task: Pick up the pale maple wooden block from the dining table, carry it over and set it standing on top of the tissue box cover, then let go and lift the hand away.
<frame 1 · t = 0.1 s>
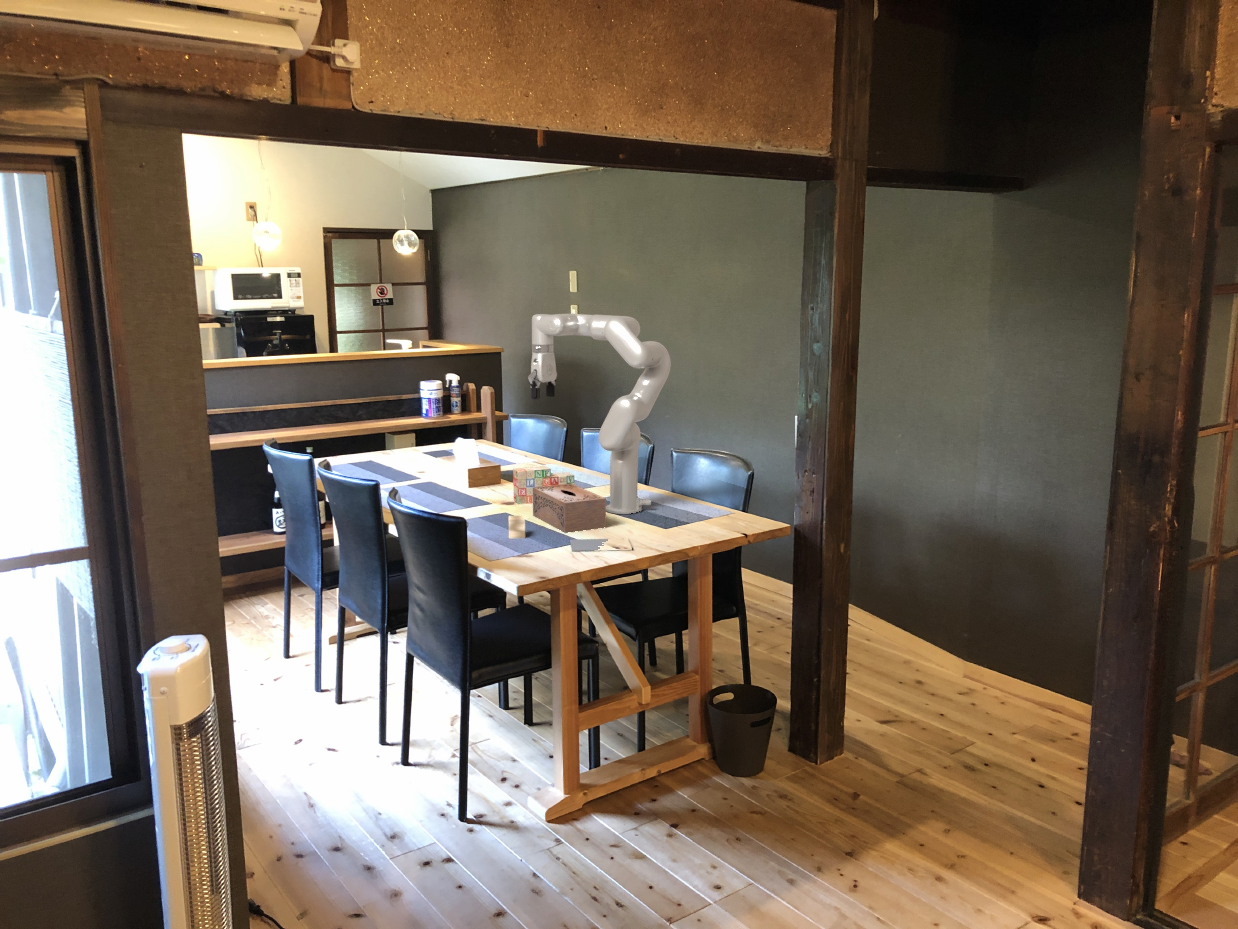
hand: (543, 397, 334), 37 cm above the table, tool pointing down, fingers open, 9 cm apart
maple block: (517, 536, 292), on the table
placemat: (600, 545, 282), on the table
stack of blocks: (544, 501, 341), on the table
tissue box cover: (568, 522, 311), on the table
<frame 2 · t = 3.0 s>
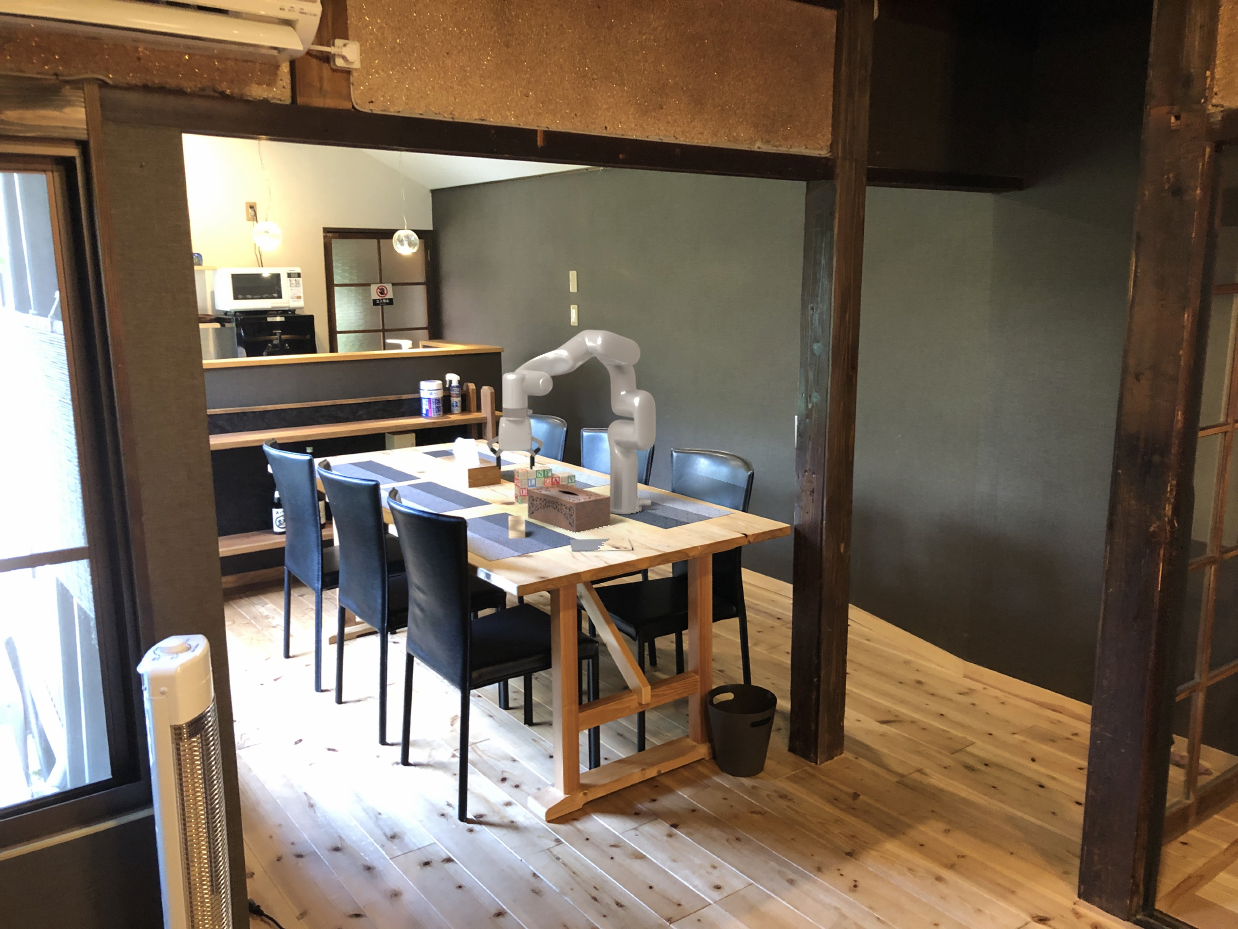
hand: (515, 468, 288), 21 cm above the table, tool pointing down, fingers open, 9 cm apart
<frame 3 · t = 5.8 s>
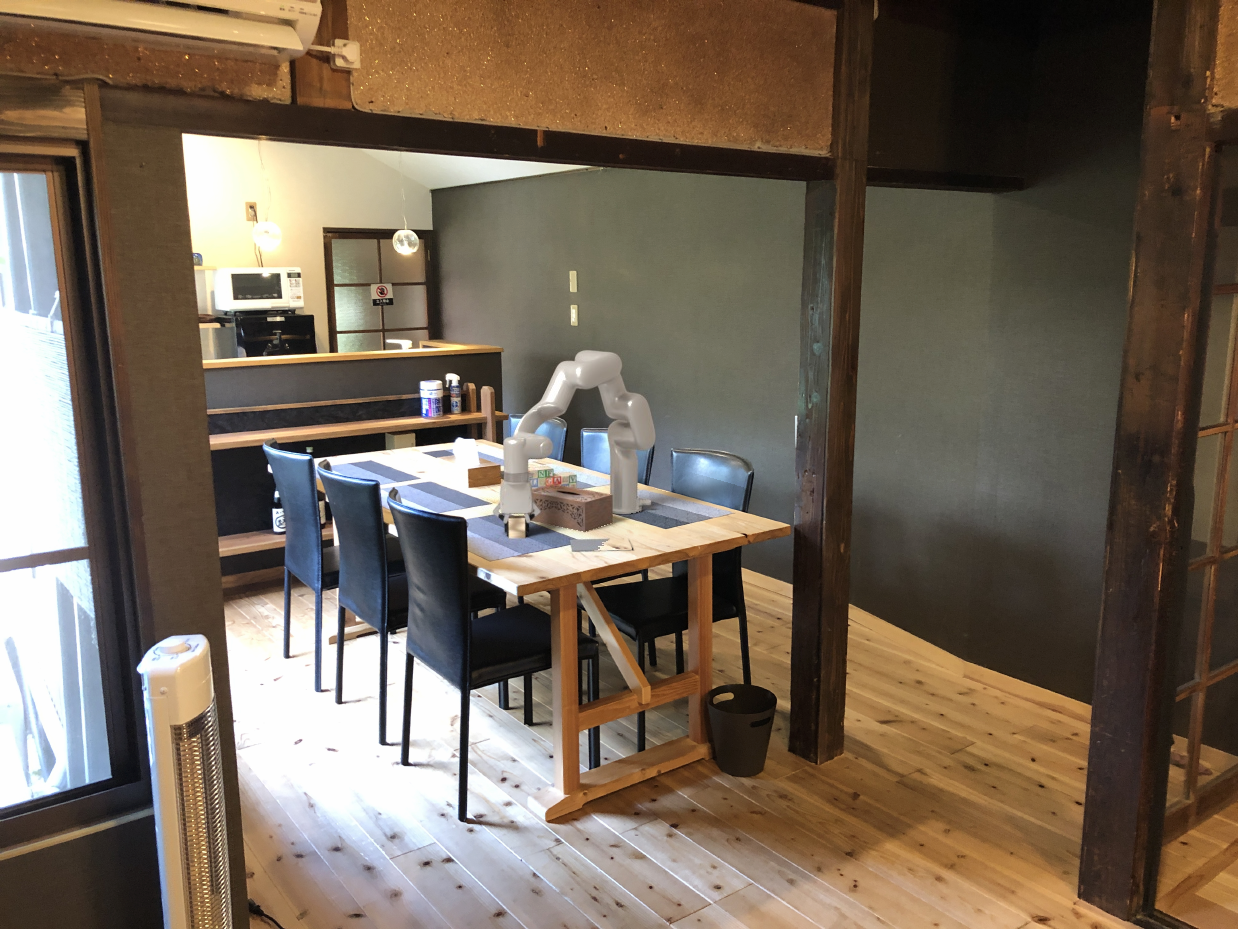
hand: (516, 534, 292), 1 cm above the table, tool pointing down, fingers closed on maple block, 5 cm apart
maple block: (517, 536, 292), on the table, touching gripper
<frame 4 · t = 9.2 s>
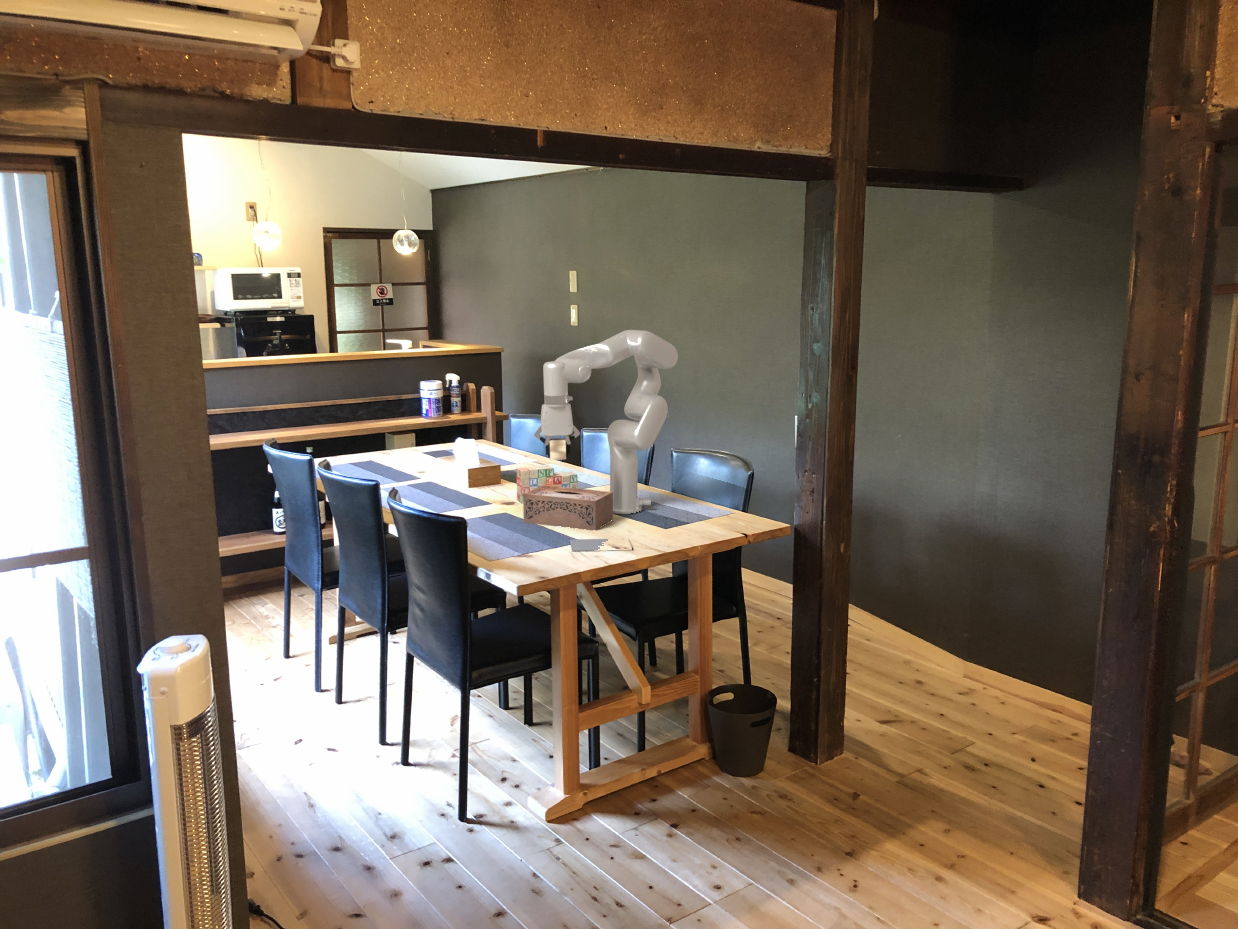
hand: (557, 456, 302), 23 cm above the table, tool pointing down, fingers closed on maple block, 5 cm apart
maple block: (557, 458, 302), point 22 cm above the table, touching gripper
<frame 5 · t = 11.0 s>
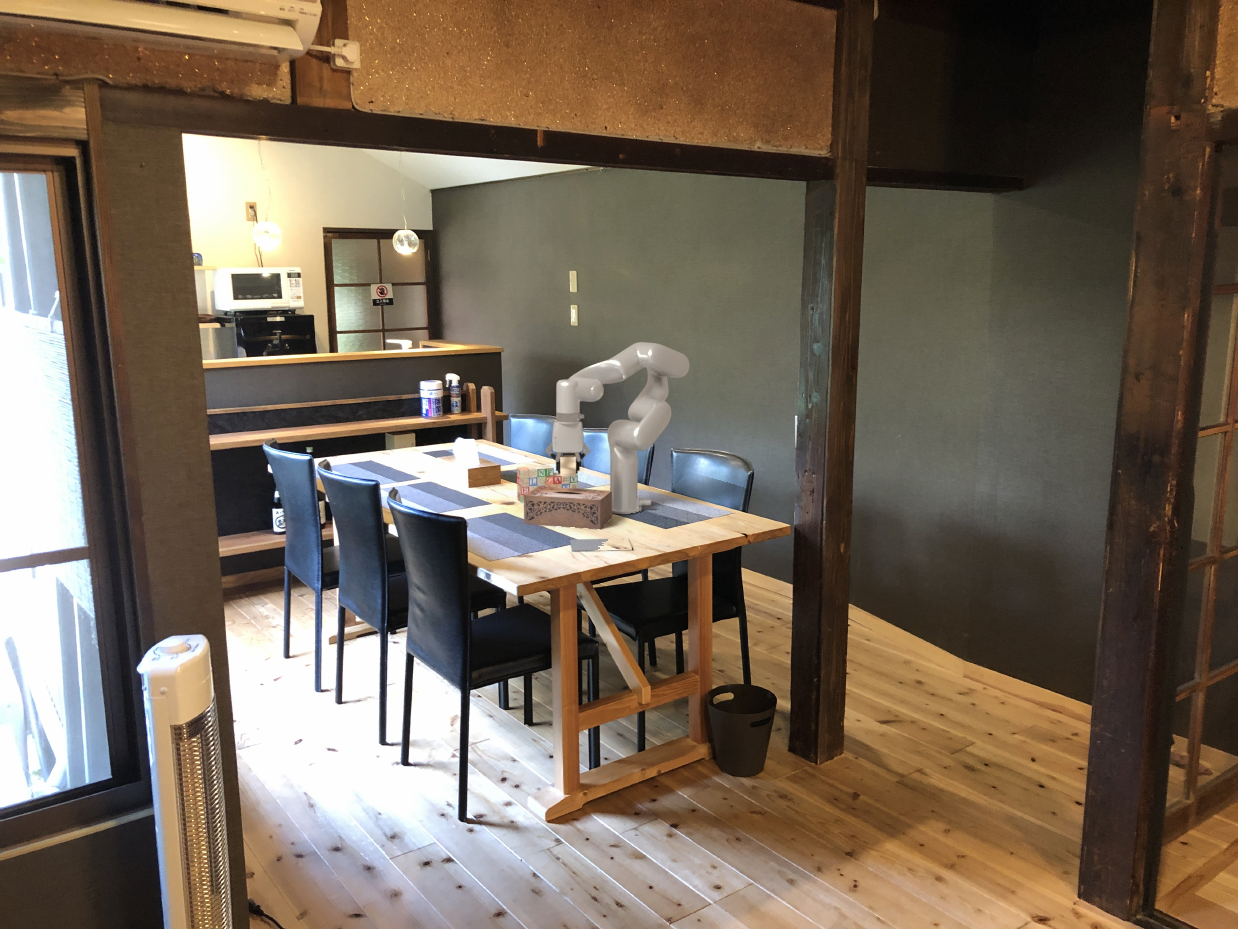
hand: (567, 472, 307), 17 cm above the table, tool pointing down, fingers closed on maple block, 5 cm apart
maple block: (567, 474, 307), point 16 cm above the table, touching gripper
when the fingers open (12 cm above the table, at t = 12.6 s): maple block drops 2 cm, point 10 cm above the table.
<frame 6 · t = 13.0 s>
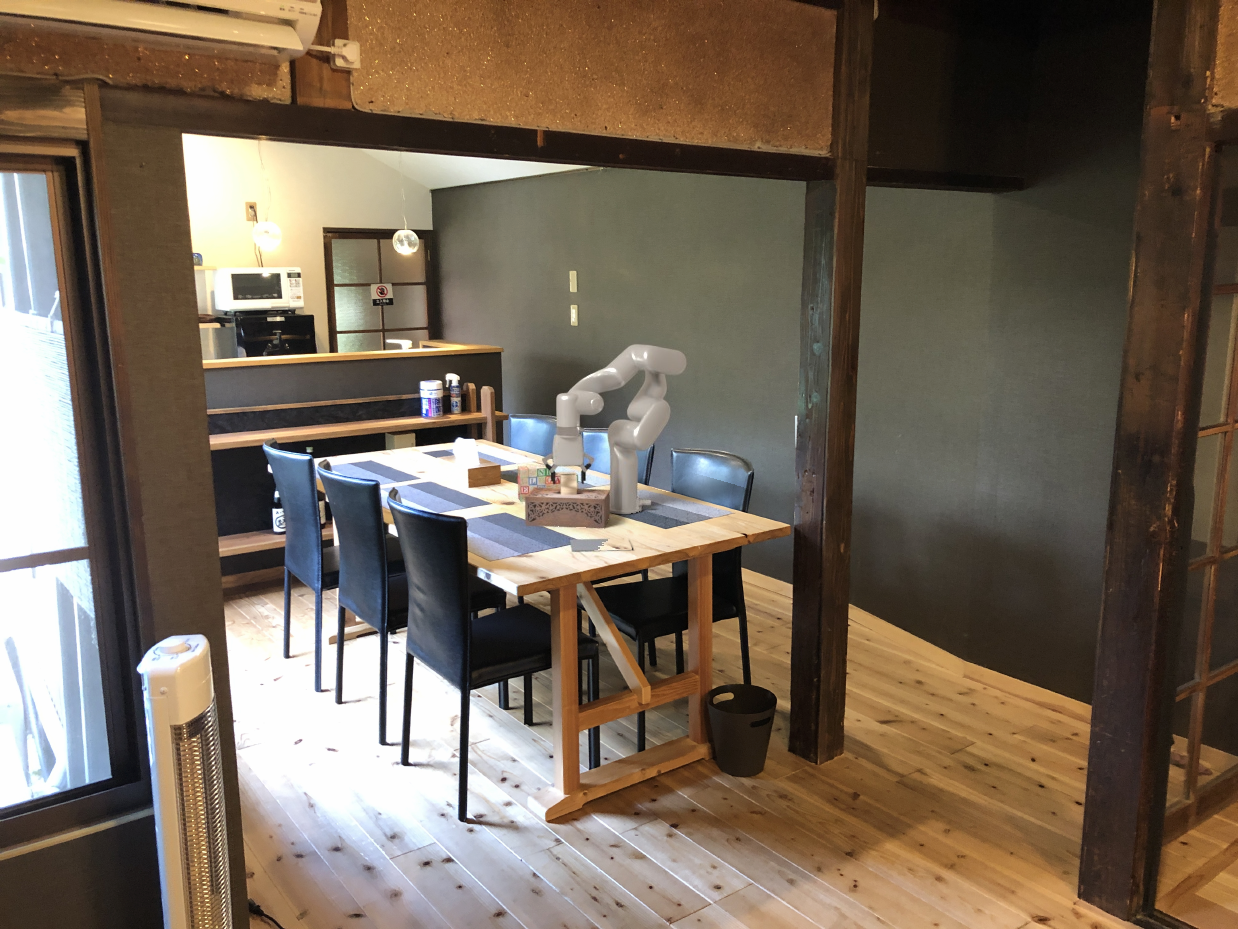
hand: (568, 483, 308), 13 cm above the table, tool pointing down, fingers open, 9 cm apart
maple block: (568, 493, 309), point 10 cm above the table
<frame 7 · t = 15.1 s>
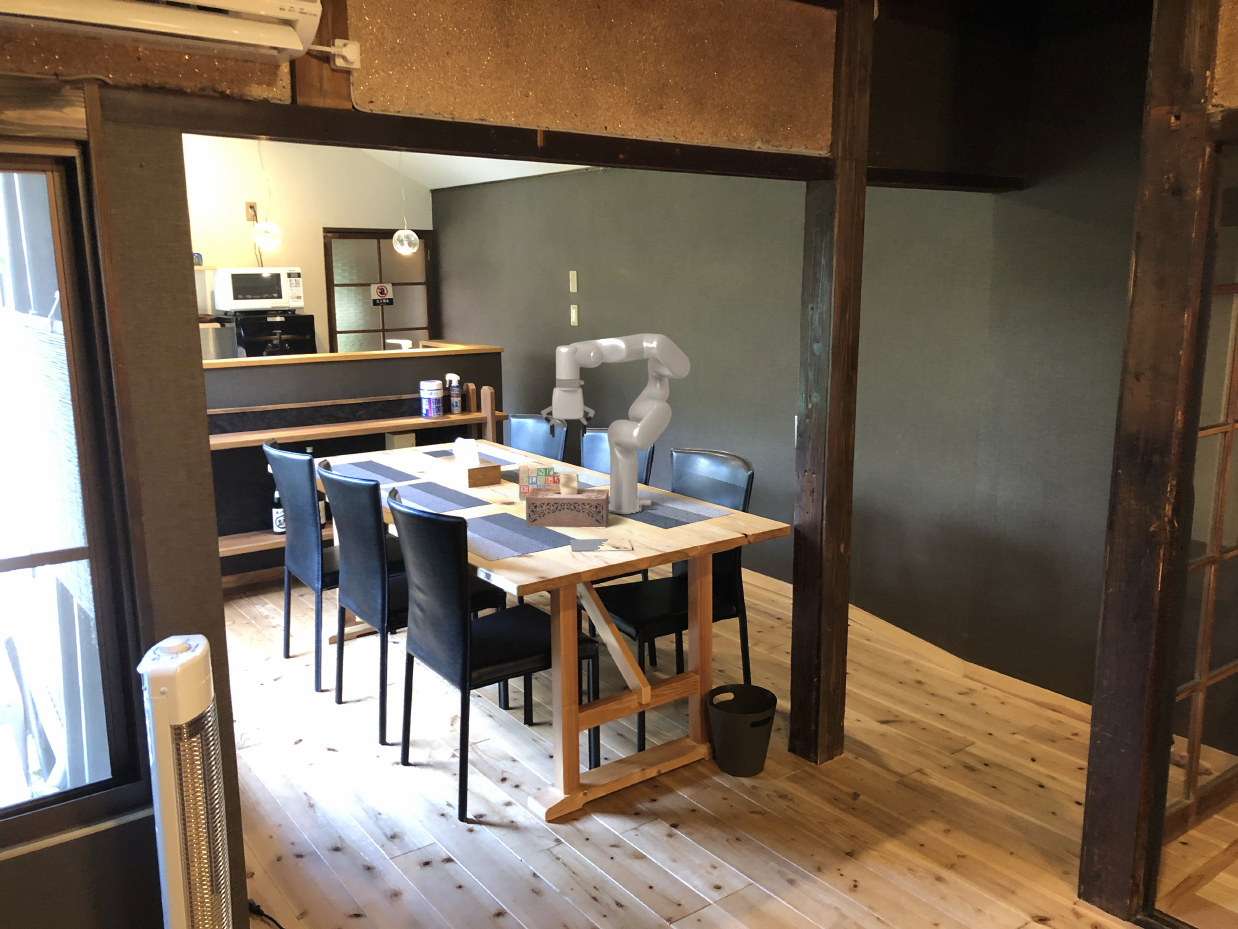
hand: (568, 436, 305), 28 cm above the table, tool pointing down, fingers open, 9 cm apart
maple block: (568, 493, 309), point 10 cm above the table, touching tissue box cover
tissue box cover: (568, 523, 311), on the table, touching maple block
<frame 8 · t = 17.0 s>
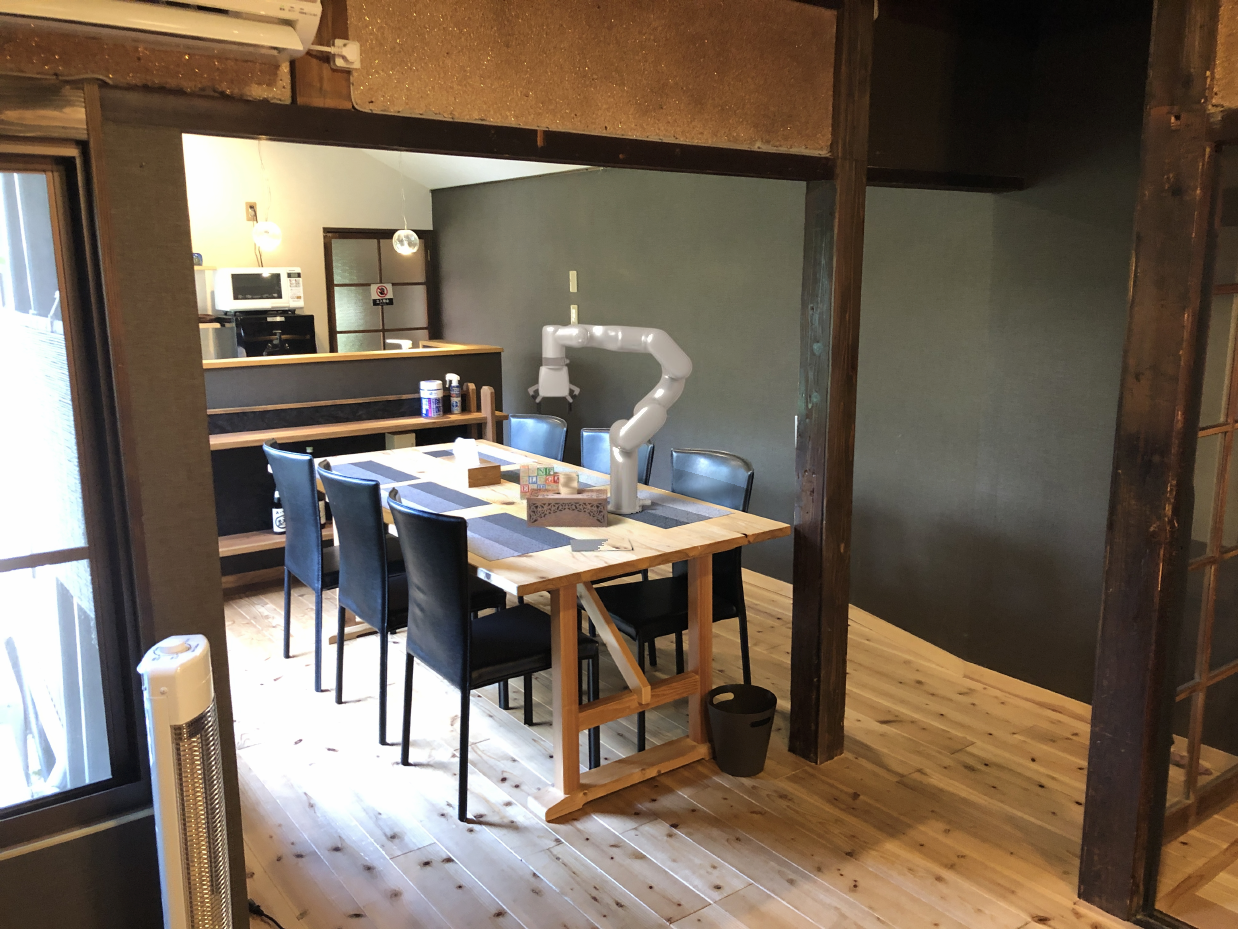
hand: (554, 413, 315), 34 cm above the table, tool pointing down, fingers open, 9 cm apart
at the end: maple block inside the target area on the tissue box cover (0.1 cm from its centre), point 10.2 cm above the tissue box cover's base; maple block tilted 0°; the gripper is holding nothing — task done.
